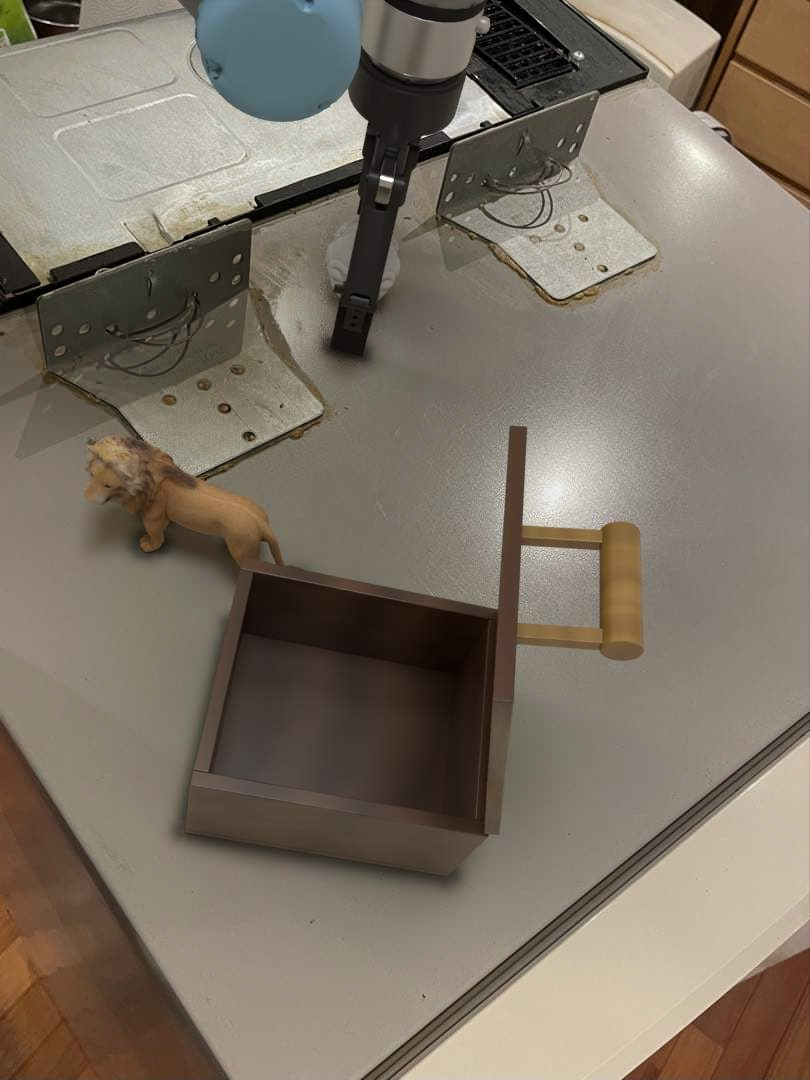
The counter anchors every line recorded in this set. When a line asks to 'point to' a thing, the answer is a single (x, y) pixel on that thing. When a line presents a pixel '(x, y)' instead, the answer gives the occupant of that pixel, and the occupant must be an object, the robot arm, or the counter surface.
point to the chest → (348, 722)
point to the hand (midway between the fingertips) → (357, 292)
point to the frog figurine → (342, 251)
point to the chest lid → (612, 638)
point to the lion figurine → (173, 497)
